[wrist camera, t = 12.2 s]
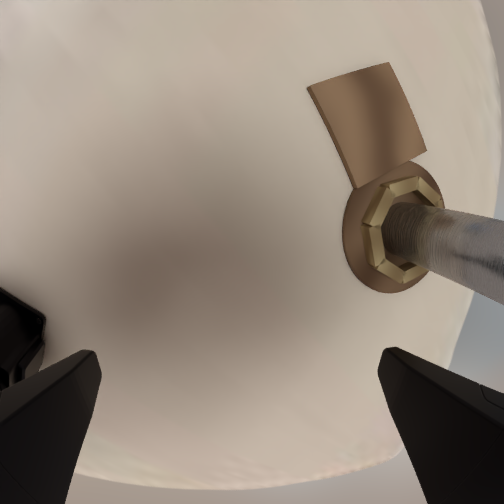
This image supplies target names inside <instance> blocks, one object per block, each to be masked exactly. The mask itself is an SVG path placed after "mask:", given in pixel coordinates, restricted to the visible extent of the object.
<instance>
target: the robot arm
mask: <svg viewBox="0 0 504 504" xmlns="http://www.w3.org/2000/svg"><path fill="white" fill-rule="evenodd" d="M38 318H39V319H40V320H41V321H39V319H38ZM45 322H46V319H45V317H44V315H43V314H41V313H39V312H38V311H36V310H34V309H33V308H31V307H29V306H28V305H26V304H24V303H23V302H21V301H20V300H18V299H16V298H15V297H13V296H12V295H10V294H9V293H7V292H5V291H4V290H2V289H1V288H0V504H65V501H66V497H67V494H68V490H69V486H70V483H71V479H72V476H73V472H74V469H75V466H76V463H77V459H78V456H79V453H80V450H81V447H82V444H83V441H84V438H85V435H86V432H87V429H88V426H89V424H90V421H91V418H92V414H93V410H94V406H95V402H96V398H97V394H98V390H99V386H100V382H101V378H102V373H101V369H100V366H99V362H98V359H97V355H96V353H95V352H94V351H92V350H81V351H79V352H77V353H75V354H73V355H71V356H69V357H67V358H65V359H63V360H61V361H59V362H57V363H55V364H53V365H51V366H49V367H47V368H45V369H43V370H41V371H39V368H40V367H41V365H42V361H43V353H44V346H45V342H44V340H43V334H44V328H45ZM38 371H39V372H38ZM378 377H379V380H380V383H381V386H382V389H383V392H384V395H385V398H386V402H387V405H388V408H389V411H390V413H391V416H392V418H393V420H394V423H395V425H396V427H397V429H398V432H399V434H400V436H401V439H402V441H403V443H404V446H405V448H406V450H407V453H408V455H409V457H410V460H411V462H412V465H413V467H414V470H415V472H416V475H417V477H418V480H419V482H420V484H421V488H422V490H423V493H424V495H425V498H426V501H427V503H428V504H504V393H501V392H498V391H496V390H493V389H491V388H488V387H486V386H483V385H479V384H478V383H477V382H474V381H472V380H470V379H467V378H465V377H463V376H460V375H458V374H455V373H453V372H451V371H449V370H447V369H444V368H442V367H440V366H438V365H435V364H433V363H431V362H429V361H426V360H424V359H422V358H420V357H418V356H415V355H413V354H411V353H409V352H407V351H404V350H402V349H400V348H398V347H390V348H385V349H384V350H383V352H382V356H381V359H380V363H379V366H378Z"/></svg>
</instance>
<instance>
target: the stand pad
mask: <svg viewBox="0 0 504 504" xmlns="http://www.w3.org/2000/svg"><path fill="white" fill-rule="evenodd" d="M307 89H308V91H309V93H310V95H311V97H312V99H313V101H314V103H315V105H316V107H317V109H318V110H319V112H320V114H321V116H322V118H323V121H324V123H325V125H326V127H327V129H328V131H329V133H330V135H331V137H332V139H333V141H334V144H335V146H336V148H337V150H338V152H339V155H340V157H341V159H342V162H343V164H344V166H345V168H346V171H347V173H348V176H349V178H350V180H351V183H352V185H353V188H359V187H361V186H363V185H365V184H367V183H369V182H370V181H372V180H374V179H376V178H378V177H380V176H381V175H383V174H385V173H387V172H389V171H391V170H392V169H394V168H396V167H398V166H400V165H402V164H403V163H405V162H407V161H409V160H411V159H413V158H415V157H416V156H418V155H420V154H422V153H424V152H426V151H427V149H426V146H425V144H424V141H423V138H422V135H421V133H420V130H419V127H418V125H417V122H416V120H415V117H414V115H413V112H412V110H411V108H410V105H409V103H408V101H407V98H406V96H405V94H404V92H403V90H402V87H401V85H400V83H399V81H398V79H397V77H396V75H395V73H394V71H393V69H392V67H391V65H390V63H389V62H387V63H383V64H379V65H375V66H371V67H368V68H364V69H361V70H357V71H354V72H350V73H347V74H344V75H341V76H337V77H334V78H331V79H328V80H325V81H322V82H319V83H316V84H313V85H311V86H309V87H308V88H307Z"/></svg>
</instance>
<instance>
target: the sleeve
mask: <svg viewBox="0 0 504 504" xmlns="http://www.w3.org/2000/svg"><path fill="white" fill-rule="evenodd" d="M381 233H382V239H383V245H384V247H385V249H386V250H387V251H388V252H389V253H390V254H392V255H395V256H397V257H399V258H402V259H404V260H407V261H409V262H411V263H414V264H416V265H418V266H420V267H423V268H425V269H427V270H430V271H432V272H434V273H436V274H439V275H441V276H443V277H445V278H448V279H450V280H452V281H454V282H456V283H458V284H461V285H463V286H465V287H467V288H469V289H471V290H474V291H476V292H478V293H480V294H482V295H484V296H486V297H488V298H490V299H492V300H494V301H496V302H499V303H501V304H503V305H504V221H502V220H497V219H493V218H488V217H484V216H479V215H475V214H470V213H465V212H460V211H455V210H449V209H444V208H439V207H433V206H427V205H422V204H416V203H409V202H397V203H395V204H394V205H392V206H391V207H390V208H389V211H388V213H387V215H386V217H385V219H384V221H383V223H382V225H381Z"/></svg>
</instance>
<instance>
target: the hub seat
mask: <svg viewBox="0 0 504 504" xmlns="http://www.w3.org/2000/svg"><path fill="white" fill-rule="evenodd" d="M397 202H409V203H416V204H422V205H427V206H433V207H439V208H444V209H445V206H444V201H443V197H442V194H441V192H440V189H439V187H438V185H437V183H436V182H435V180H434V179H433V177H432V176H431V175H430V174H429V173H428V171H426V170H425V169H424V168H423V167H421V166H420V165H418V164H416V163H414V162H411V161H407V162H405V163H403V164H402V165H400V166H398V167H396V168H394V169H392V170H391V171H389V172H387V173H385V174H383V175H381V176H380V177H378V178H376V179H374V180H372V181H370V182H369V183H367V184H365V185H363V186H361V187H359V188H354V189H353V191H352V193H351V195H350V198H349V200H348V203H347V206H346V209H345V214H344V219H343V230H342V233H343V246H344V251H345V255H346V258H347V261H348V263H349V266H350V267H351V269H352V271H353V273H354V274H355V275H356V276H357V278H358V279H359V280H360V281H361V282H363V283H364V284H365V285H367V286H368V287H370V288H371V289H373V290H376V291H378V292H382V293H397V292H401V291H404V290H406V289H408V288H410V287H412V286H414V285H415V284H416V283H418V282H419V281H420V280H421V279H422V278H423V277H424V276H425V275H426V274H427V273H428V272H429V270H427V269H425V268H423V267H420V266H418V265H416V264H414V263H411V262H409V261H407V260H404V259H402V258H399V257H397V256H395V255H392V254H390V253H389V252H388V251H387V250H386V249H385V247H384V245H383V239H382V233H381V225H382V223H383V221H384V219H385V217H386V215H387V213H388V211H389V208H390V207H391V206H392V205H394V204H395V203H397Z"/></svg>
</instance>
